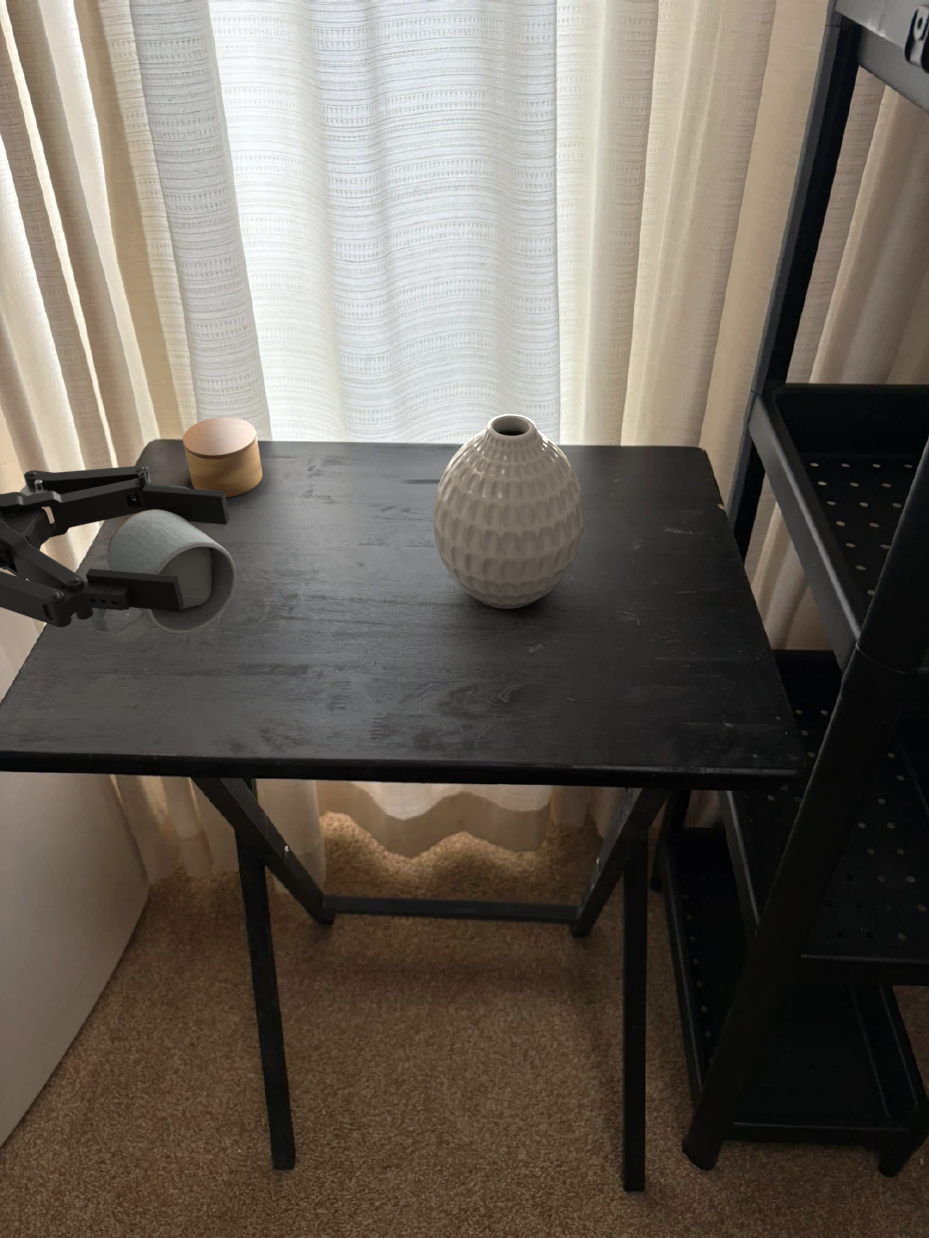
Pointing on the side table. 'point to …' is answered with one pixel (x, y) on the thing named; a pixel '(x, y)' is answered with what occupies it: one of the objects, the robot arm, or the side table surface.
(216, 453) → the oak stand
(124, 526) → the ceramic mug
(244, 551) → the side table surface
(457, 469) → the vase
